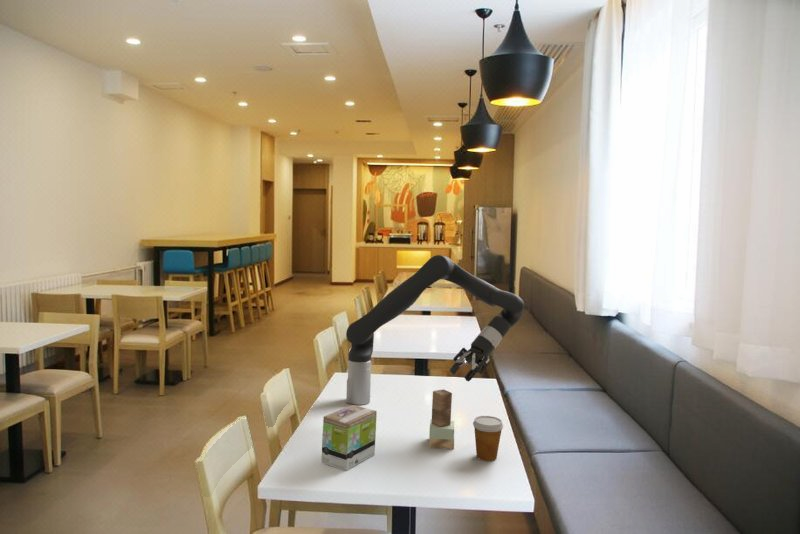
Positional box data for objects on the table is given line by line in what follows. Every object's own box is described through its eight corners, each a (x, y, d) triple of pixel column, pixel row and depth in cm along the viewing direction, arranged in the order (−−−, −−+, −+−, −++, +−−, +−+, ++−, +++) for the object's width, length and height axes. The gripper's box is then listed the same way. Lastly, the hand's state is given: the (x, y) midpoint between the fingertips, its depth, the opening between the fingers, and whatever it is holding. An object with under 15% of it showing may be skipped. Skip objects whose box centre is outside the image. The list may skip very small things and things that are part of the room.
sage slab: (429, 438, 189) (429, 427, 189) (430, 429, 197) (430, 419, 197) (453, 439, 188) (454, 429, 188) (453, 430, 196) (454, 420, 196)
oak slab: (429, 448, 189) (429, 438, 189) (429, 439, 197) (430, 429, 197) (453, 450, 189) (454, 439, 188) (453, 440, 197) (453, 430, 196)
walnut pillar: (439, 427, 189) (441, 394, 188) (431, 423, 193) (432, 391, 192) (450, 425, 192) (451, 393, 191) (442, 421, 195) (443, 389, 195)
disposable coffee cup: (505, 454, 185) (506, 418, 184) (497, 465, 177) (498, 428, 176) (476, 448, 189) (478, 413, 188) (467, 459, 181) (469, 422, 180)
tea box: (347, 472, 169) (348, 423, 168) (320, 463, 175) (321, 416, 173) (376, 455, 182) (377, 409, 181) (350, 447, 187) (351, 403, 186)
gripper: (468, 330, 209) (441, 364, 204) (494, 339, 197) (465, 375, 192) (479, 343, 212) (452, 377, 208) (505, 353, 200) (477, 389, 195)
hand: (458, 376), depth 200 cm, fingers open, 8 cm apart
